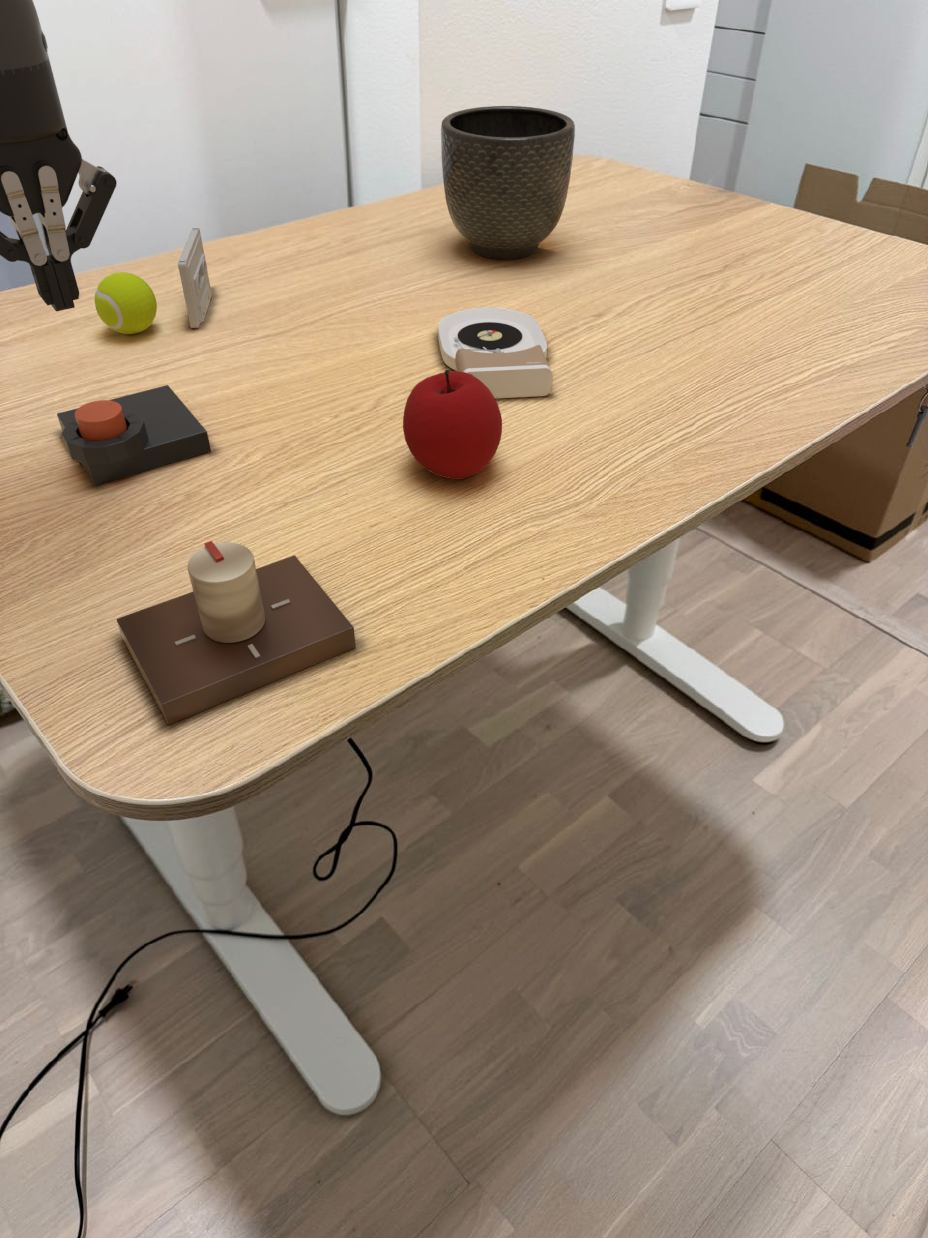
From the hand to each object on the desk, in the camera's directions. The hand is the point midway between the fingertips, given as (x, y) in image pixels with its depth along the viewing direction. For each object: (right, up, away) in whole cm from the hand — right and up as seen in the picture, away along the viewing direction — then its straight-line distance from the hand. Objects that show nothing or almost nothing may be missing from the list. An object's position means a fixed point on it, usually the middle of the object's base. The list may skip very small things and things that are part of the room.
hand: (62, 306), depth 73 cm
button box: (+1, -8, +15) cm, 17 cm away
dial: (+16, -25, -8) cm, 31 cm away
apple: (+31, -11, +12) cm, 35 cm away
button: (0, -8, +9) cm, 12 cm away
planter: (+38, +26, +54) cm, 71 cm away
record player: (+36, +4, +29) cm, 46 cm away
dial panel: (+16, -27, -7) cm, 32 cm away
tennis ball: (-6, +8, +33) cm, 35 cm away
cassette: (0, +13, +38) cm, 40 cm away
